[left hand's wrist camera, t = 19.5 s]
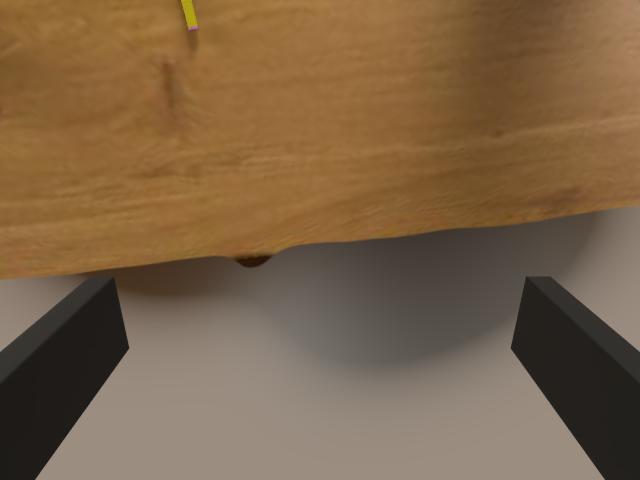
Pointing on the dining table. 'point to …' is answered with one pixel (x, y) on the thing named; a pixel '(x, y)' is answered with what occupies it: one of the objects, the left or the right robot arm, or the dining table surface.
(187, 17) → the pencil
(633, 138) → the dining table surface
